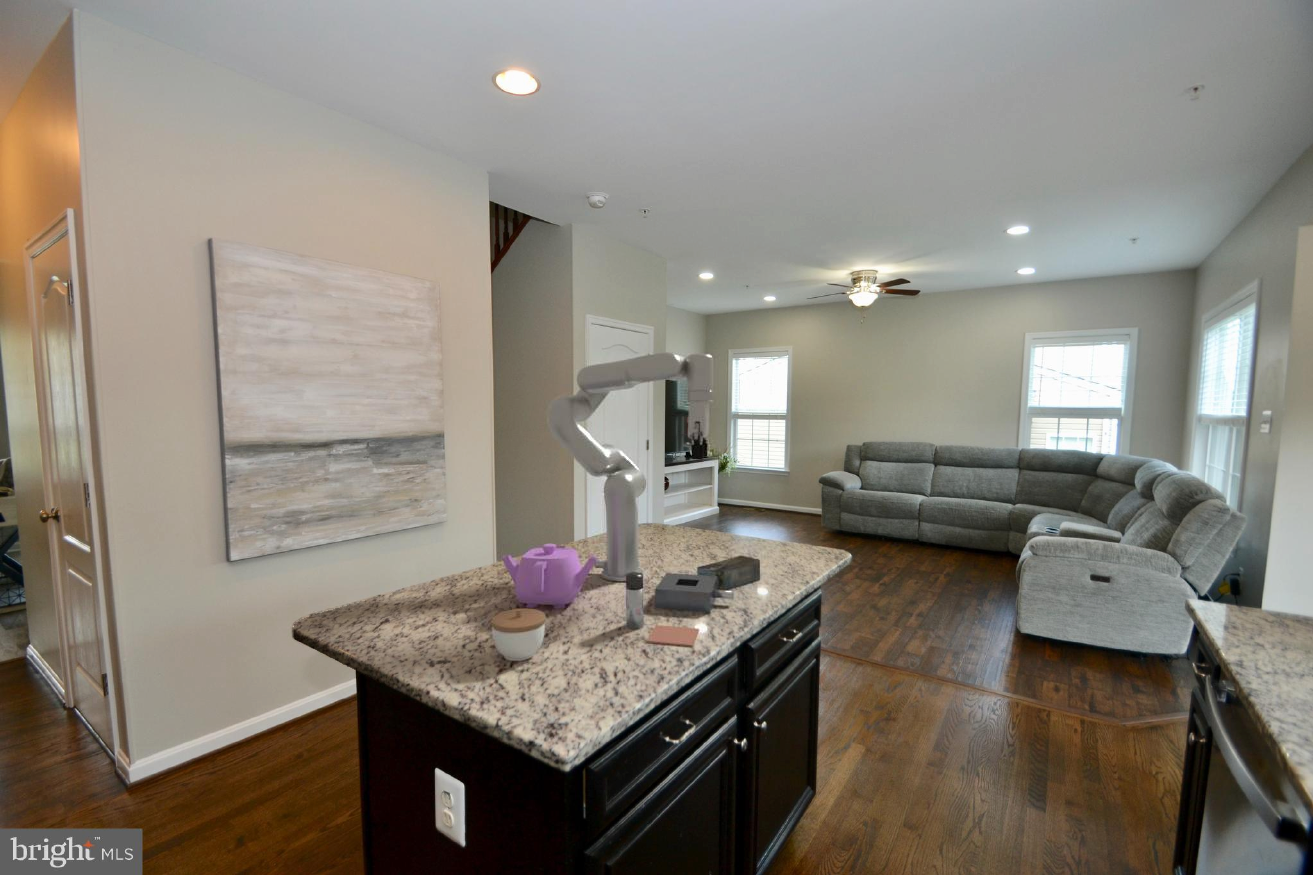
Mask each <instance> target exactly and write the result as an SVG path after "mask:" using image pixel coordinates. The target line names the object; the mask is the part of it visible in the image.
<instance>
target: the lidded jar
mask: <svg viewBox="0 0 1313 875" xmlns="http://www.w3.org/2000/svg"><path fill="white" fill-rule="evenodd" d="M546 620H547V619H546V614H545V613H544V612H543V611H541V610H539V609H535V608H515V609H509V610H505V611H501V612H499V613H497V614H496V615H494V616H493V617H492V619H491V627H492V628H491V629H492V630H491V631H492V632H491V633H492V639H493V643H494V646H495V648H496V650H497V652H498V653H499V654H500V655H502V656H503V658H504V659H505V660H507V661H510V662H520V661H525V660H528V659H530V658H532V657H533V656H535V654H536V652H537V651H538V650H539V649H540V647H541V646H542V643H543V641H544V639H545V632H546V631H545V630H546Z"/></svg>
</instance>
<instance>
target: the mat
mask: <svg viewBox="0 0 1313 875" xmlns="http://www.w3.org/2000/svg"><path fill="white" fill-rule="evenodd" d="M699 632H700V628H696V627H695V628H694V627H693V628H692V627H685V626H684V627H682V626H670V625H660V624H656V625H655V626H654V628H653V630H652V631H651V632H650V634H649V636H648V637H647V639H646V643H647V644H648V643H649V644H656V645H657V644H661V645H668V644H670V646H678V645H679V647H689V648H690V647H691V648H692V647H694V644H695V642H696V639H697V636H698V634H699Z"/></svg>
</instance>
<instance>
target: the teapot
mask: <svg viewBox="0 0 1313 875" xmlns="http://www.w3.org/2000/svg"><path fill="white" fill-rule="evenodd" d="M579 558H580V557H579V555H578V552H577V550H576V549H574V548H569V547H565V545H557V544H554V543H545V544H542V547H534V548H531V549H529V550H528V551H527V552H525V553H524V554H523V555H522V556H521V558H520V561H519V562H517V561H516V560H515V559H514V558H513V557H512V555H511V554H510V555H503V556H502V557H501V560H502V562H503V564H504V566H505V568H506V569H507V572H508V574H509V575H510V578H511V579H512V582H513V583H514V593H515V597H516V599H517V602H519V603H523V604H526V609H535V608H537V607H538V606H539V605H548V606H549V605H553V608H554V609H556V610H561V609H565V608H566V607H567V606H566V605H568V604H570V603H572V602H574V600H575V599H576V598H577V597H578V596H579V594H580V592H581V591H582V590H581V589H582V587H583V584H584V582H585V580H586V579H587V577H588V575H589V574H590V572H591V571H592V568H593V567H594V563H595V562H596V560H598V557H596V556H589V557H588V560H587V561H586V563H584V565H583V567H582V565H581V562H580V559H579Z"/></svg>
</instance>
